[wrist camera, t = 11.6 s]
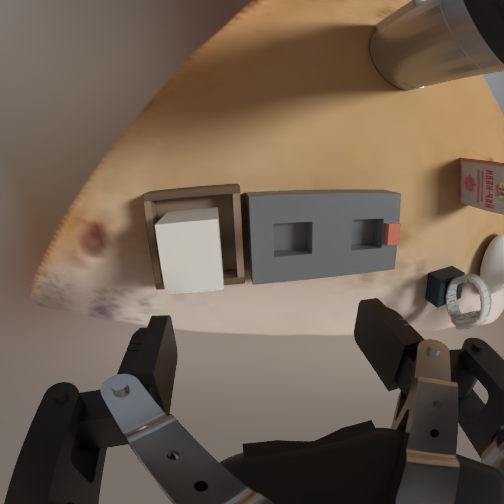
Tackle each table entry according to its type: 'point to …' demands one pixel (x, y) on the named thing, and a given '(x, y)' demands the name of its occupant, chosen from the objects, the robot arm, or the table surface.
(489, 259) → the flower in vase
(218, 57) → the table surface
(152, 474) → the robot arm
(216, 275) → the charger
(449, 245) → the table surface
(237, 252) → the tray
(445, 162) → the table surface
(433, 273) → the watch
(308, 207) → the power strip
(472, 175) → the tea box
